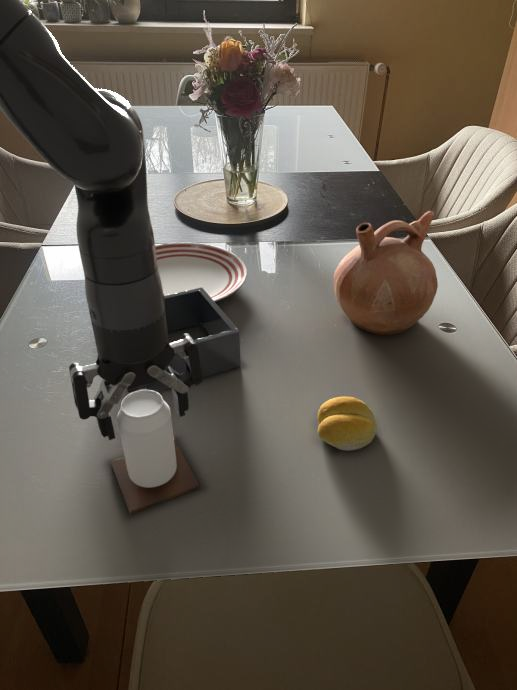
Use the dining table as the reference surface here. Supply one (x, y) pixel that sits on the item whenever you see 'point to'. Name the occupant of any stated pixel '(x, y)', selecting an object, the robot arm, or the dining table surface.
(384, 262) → the jug
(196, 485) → the coaster
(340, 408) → the bread roll
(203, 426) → the dining table surface
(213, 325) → the grey open box
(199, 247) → the dinner plate
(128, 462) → the beverage can
